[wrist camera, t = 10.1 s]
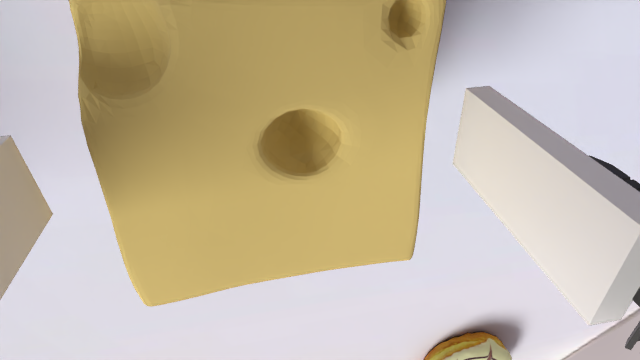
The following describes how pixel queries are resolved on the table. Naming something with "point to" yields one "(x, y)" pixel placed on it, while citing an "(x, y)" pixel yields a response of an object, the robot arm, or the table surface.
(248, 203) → the cheese
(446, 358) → the decorated donut
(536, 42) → the table surface
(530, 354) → the table surface
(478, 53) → the table surface
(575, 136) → the table surface
